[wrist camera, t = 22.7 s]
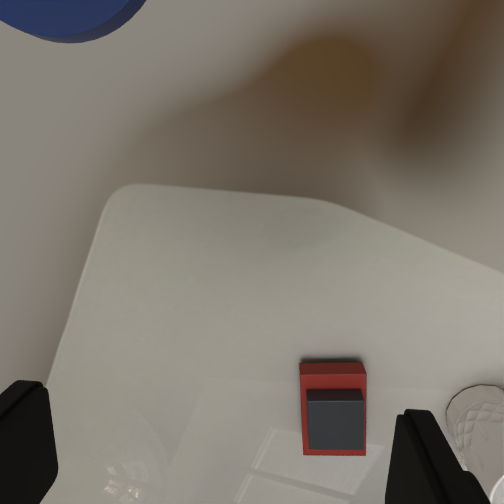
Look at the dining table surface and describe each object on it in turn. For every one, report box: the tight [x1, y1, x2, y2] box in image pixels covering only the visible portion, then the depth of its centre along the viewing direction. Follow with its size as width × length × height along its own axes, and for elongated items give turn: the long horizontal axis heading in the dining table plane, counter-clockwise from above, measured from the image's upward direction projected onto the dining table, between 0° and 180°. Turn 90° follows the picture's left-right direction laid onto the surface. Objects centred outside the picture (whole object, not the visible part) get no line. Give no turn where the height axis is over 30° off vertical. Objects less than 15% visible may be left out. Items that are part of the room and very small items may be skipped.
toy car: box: [299, 362, 366, 456], centre depth 37 cm, size 9×5×6 cm
